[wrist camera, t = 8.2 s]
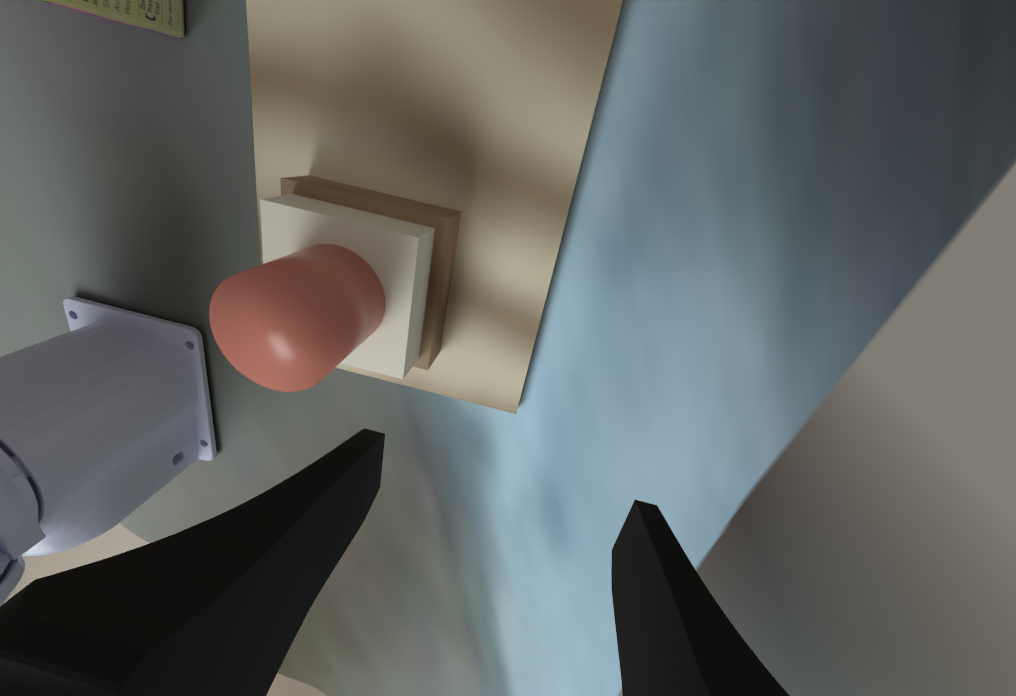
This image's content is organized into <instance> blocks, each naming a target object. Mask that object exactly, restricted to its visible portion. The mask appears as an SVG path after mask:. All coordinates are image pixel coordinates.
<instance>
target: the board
mask: <svg viewBox="0 0 1016 696" xmlns="http://www.w3.org/2000/svg"><path fill="white" fill-rule="evenodd" d="M622 3H623V0H246V7H247V25H248V43H249V62H250V80H251V98H252V116H253V134H254V153H255V171H256V189H257V207H258V225H259V244H260V262H261V265H262V264H263V251H262V232H261V213H260V199H264V198H270V197H276V196H281V180H280V178H286V177H295V176H305V175H310V176H314V177H318V178H322V179H327V180H331V181H335V182H339V183H343V184H348V185H352V186H356V187H360V188H364V189H369V190H373V191H377V192H381V193H385V194H389V195H394V196H398V197H402V198H406V199H410V200H415V201H419V202H423V203H427V204H431V205H436V206H440V207H444V208H448V209H452V210H457V211H461V217H460V224H459V231H458V237H457V244H456V251H455V257H454V264H453V270H452V277H451V284H450V290H449V297H448V304H447V310H446V317H445V324H444V330H443V337H442V343H441V350H440V353H439V355H438V356H437V357H436V359H435V360H434V362H433V363H432V365H431V366H430V368H429V369H428V370H425V369H421V368H417V367H412V368H411V369H410V371H409V372H408V373H407V375H406V376H405V377H404V379H400V378H396V377H392V376H388V375H384V374H380V373H376V372H372V371H368V370H365V369H361V368H357V367H353V366H349V365H345V364H341V363H339V364H338V365H337V366H336V368H340V369H343V370H347V371H351V372H355V373H359V374H363V375H367V376H371V377H374V378H378V379H382V380H386V381H390V382H394V383H398V384H402V385H405V386H409V387H413V388H417V389H421V390H425V391H429V392H433V393H437V394H440V395H444V396H448V397H452V398H456V399H460V400H464V401H468V402H471V403H475V404H479V405H483V406H487V407H491V408H495V409H499V410H502V411H506V412H510V413H514V414H516V412H517V409H518V405H519V401H520V397H521V393H522V389H523V385H524V381H525V378H526V374H527V370H528V366H529V362H530V358H531V354H532V351H533V347H534V343H535V339H536V335H537V331H538V327H539V324H540V320H541V316H542V312H543V308H544V304H545V300H546V296H547V293H548V289H549V285H550V281H551V277H552V273H553V269H554V266H555V262H556V258H557V254H558V250H559V246H560V242H561V239H562V235H563V231H564V227H565V223H566V219H567V215H568V212H569V208H570V204H571V200H572V196H573V192H574V188H575V184H576V181H577V177H578V173H579V169H580V165H581V161H582V157H583V154H584V150H585V146H586V142H587V138H588V134H589V130H590V127H591V123H592V119H593V115H594V111H595V107H596V103H597V99H598V96H599V92H600V88H601V84H602V80H603V76H604V72H605V69H606V65H607V61H608V57H609V53H610V49H611V45H612V42H613V38H614V34H615V30H616V26H617V22H618V18H619V14H620V11H621V7H622Z"/></svg>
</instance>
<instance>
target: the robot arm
mask: <svg viewBox="0 0 1016 696" xmlns="http://www.w3.org/2000/svg"><path fill="white" fill-rule="evenodd" d="M63 305H64V309H65V312H66V316H67V320H68V323H69V327H70V330H71V332H68V333H65V334H62V335H60V336H57V337H54V338H51V339H49V340H46V341H43V342H40V343H37V344H35V345H32V346H29V347H26V348H24V349H21V350H18V351H15V352H13V353H10V354H7V355H4V356H2V357H0V696H266V695H267V692H268V690H269V688H270V686H271V684H272V682H273V680H274V678H275V676H276V674H277V672H278V670H279V668H280V666H281V664H282V662H283V660H284V658H285V656H286V654H287V652H288V650H289V648H290V646H291V644H292V642H293V640H294V638H295V636H296V634H297V632H298V630H299V628H300V626H301V625H302V623H303V621H304V619H305V617H306V615H307V613H308V611H309V609H310V607H311V606H312V604H313V602H314V600H315V599H316V597H317V595H318V594H319V592H320V590H321V589H322V587H323V586H324V584H325V582H326V581H327V579H328V578H329V576H330V574H331V573H332V571H333V570H334V568H335V566H336V565H337V563H338V562H339V560H340V558H341V557H342V555H343V554H344V552H345V551H346V549H347V547H348V546H349V544H350V543H351V541H352V539H353V538H354V536H355V534H356V533H357V531H358V530H359V528H360V526H361V525H362V523H363V521H364V520H365V518H366V516H367V514H368V512H369V509H370V507H371V505H372V503H373V501H374V499H375V497H376V495H377V492H378V490H379V488H380V481H381V471H382V460H383V450H384V439H385V434H384V433H380V432H376V431H372V430H368V429H363V430H361V431H359V432H358V433H356V434H355V435H353V436H352V437H351V438H349V439H348V440H346V441H345V442H343V443H342V444H341V445H339V446H338V447H336V448H335V449H333V450H332V451H330V452H329V453H327V454H326V455H324V456H323V457H321V458H320V459H318V460H317V461H315V462H314V463H312V464H310V465H309V466H307V467H306V468H304V469H303V470H301V471H300V472H298V473H296V474H295V475H293V476H291V477H290V478H288V479H286V480H284V481H283V482H281V483H279V484H278V485H276V486H274V487H273V488H271V489H269V490H267V491H266V492H264V493H262V494H260V495H258V496H256V497H254V498H253V499H251V500H249V501H247V502H245V503H243V504H241V505H239V506H237V507H235V508H233V509H231V510H229V511H227V512H225V513H222V514H220V515H218V516H216V517H214V518H211V519H209V520H207V521H204V522H202V523H200V524H197V525H195V526H193V527H190V528H188V529H185V530H183V531H181V532H178V533H176V534H174V535H171V536H168V537H166V538H163V539H160V540H158V541H155V542H152V543H150V544H147V545H144V546H142V547H139V548H136V549H133V550H130V551H127V552H124V553H121V554H119V555H116V556H112V557H110V558H107V559H103V560H100V561H97V562H93V563H91V564H87V565H84V566H80V567H77V568H74V569H70V570H67V571H64V572H60V573H57V574H54V575H50V576H47V577H43V578H39V579H36V580H34V581H33V582H31V583H30V584H29V585H27V586H26V587H25V588H24V589H22V590H21V591H20V592H18V593H17V594H16V595H14V596H13V597H12V598H10V599H9V600H8V601H7V602H6V603H4V602H5V601H6V599H7V598H8V596H9V595H10V593H11V592H12V591H13V589H14V588H15V587H16V585H17V584H18V582H19V581H20V579H21V577H22V574H23V572H24V569H25V562H24V560H23V558H22V556H35V555H45V554H52V553H56V552H60V551H64V550H67V549H70V548H73V547H76V546H78V545H80V544H83V543H85V542H87V541H90V540H92V539H94V538H96V537H98V536H99V535H101V534H103V533H105V532H107V531H108V530H110V529H111V528H113V527H114V526H115V525H117V524H118V523H120V522H121V521H122V520H123V519H125V518H126V517H127V516H128V515H129V514H131V513H132V512H133V511H134V510H136V509H137V508H138V507H139V506H140V505H142V504H143V503H144V502H145V501H147V500H148V499H149V498H150V497H151V496H153V495H154V494H155V493H156V492H157V491H159V490H160V489H161V488H162V487H164V486H165V485H166V484H167V483H168V482H170V481H171V480H172V479H173V478H175V477H176V476H177V475H178V474H179V473H181V472H182V471H183V470H184V469H186V468H187V467H188V466H189V465H190V464H192V463H193V462H194V461H195V460H197V459H202V460H205V461H212V460H213V459H214V458H215V457H216V456H217V450H216V443H215V435H214V427H213V419H212V411H211V403H210V395H209V388H208V380H207V372H206V364H205V356H204V348H203V341H202V335H201V333H200V331H199V330H197V329H196V328H194V327H191V326H187V325H183V324H180V323H176V322H172V321H168V320H164V319H160V318H156V317H152V316H148V315H145V314H141V313H137V312H133V311H129V310H125V309H121V308H117V307H113V306H110V305H106V304H102V303H98V302H94V301H90V300H86V299H82V298H79V297H69V298H66V299H64V301H63ZM191 342H192V343H193V344H192V343H191ZM612 596H613V606H614V615H615V624H616V633H617V642H618V651H619V660H620V669H621V678H622V692H623V696H789V695H788V693H786V691H785V690H784V689H783V688H782V687H781V686H780V684H779V683H778V682H777V681H776V680H775V678H774V677H773V676H772V675H771V674H770V673H769V671H768V670H767V669H766V668H765V666H764V665H763V664H762V663H761V661H760V660H759V659H758V658H757V656H756V655H755V654H754V652H753V651H752V650H751V649H750V647H749V646H748V645H747V643H746V642H745V641H744V640H743V638H742V637H741V636H740V634H739V633H738V632H737V630H736V629H735V628H734V626H733V625H732V624H731V622H730V621H729V619H728V618H727V617H726V615H725V614H724V612H723V611H722V609H721V608H720V607H719V605H718V604H717V602H716V601H715V599H714V598H713V597H712V595H711V594H710V592H709V590H708V589H707V587H706V586H705V585H704V583H703V581H702V580H701V578H700V577H699V575H698V573H697V572H696V570H695V569H694V567H693V565H692V564H691V562H690V561H689V559H688V557H687V556H686V554H685V552H684V551H683V549H682V547H681V546H680V544H679V542H678V541H677V539H676V537H675V536H674V534H673V532H672V530H671V529H670V527H669V525H668V524H667V522H666V520H665V518H664V517H663V515H662V513H661V512H660V510H659V508H658V507H657V505H653V504H649V503H645V502H642V501H638V500H635V501H634V503H633V505H632V507H631V510H630V512H629V514H628V516H627V518H626V520H625V523H624V525H623V527H622V529H621V531H620V534H619V536H618V538H617V540H616V542H615V544H614V547H613V549H612ZM3 603H4V604H3ZM2 604H3V605H2Z"/></svg>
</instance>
